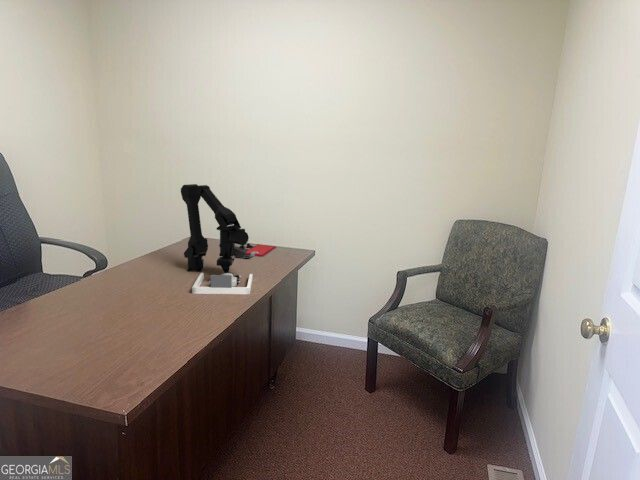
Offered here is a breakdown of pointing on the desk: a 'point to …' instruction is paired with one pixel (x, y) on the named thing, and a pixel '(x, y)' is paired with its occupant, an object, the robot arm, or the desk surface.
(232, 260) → the robot arm
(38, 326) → the desk surface
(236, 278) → the robot toy
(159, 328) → the desk surface
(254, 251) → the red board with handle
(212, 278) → the frame
